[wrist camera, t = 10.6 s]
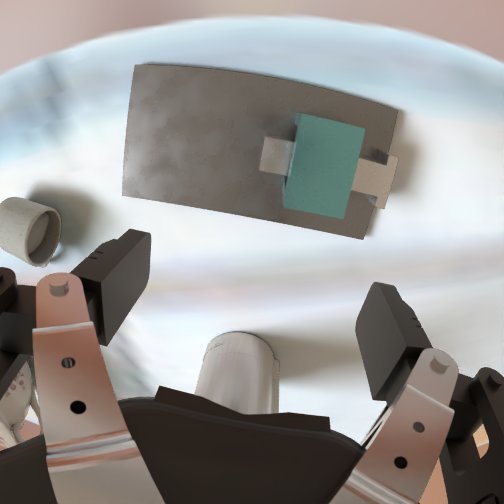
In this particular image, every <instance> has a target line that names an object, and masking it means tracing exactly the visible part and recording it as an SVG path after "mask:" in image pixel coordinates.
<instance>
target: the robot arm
mask: <svg viewBox="0 0 504 504" xmlns="http://www.w3.org/2000/svg"><path fill="white" fill-rule="evenodd" d="M150 252H151V234H150V233H147V232H143V231H138V230H134V229H129V230H128V231H127V232H125V233H124V234H123V235H122V236H121V237H120V238H119V239H118V240H117V239H112V240H110V241H107V242H105V243H103V244H101V245H100V246H99V247H98V248H97V249H96V250H95V251H94V252H92V253H91V254H90V255H89V256H88V257H87V258H85V259H84V260H83V261H82V262H81V263H80V264H79V265H78V266H77V267H76V268H75V269H73V270H72V271H71V272H70V273H54V274H50V275H47V276H45V277H44V278H42V279H41V280H40V281H39V282H38V284H37V286H27V285H17V281H16V276H15V273H14V272H13V271H12V270H11V269H9V268H4V267H0V400H1V399H2V397H3V396H4V394H5V393H6V391H7V389H8V388H9V386H10V385H11V383H12V382H13V380H14V379H15V377H16V376H17V374H18V373H19V371H20V370H21V368H22V367H23V365H24V364H25V362H26V361H27V360H28V358H29V357H30V355H33V356H34V366H35V377H36V386H37V394H38V402H39V409H40V415H41V421H42V426H43V432H44V434H41V435H39V436H37V437H34V438H32V439H30V440H27V441H24V442H22V443H20V444H17V445H15V446H12V447H10V448H7V449H4V450H2V451H0V504H420V503H419V500H420V499H421V496H422V495H423V492H424V490H425V488H426V486H427V484H428V482H429V479H430V477H431V475H432V472H433V470H434V468H435V465H436V463H437V460H438V458H439V459H440V464H441V468H442V473H443V478H444V483H445V487H446V493H447V498H448V504H504V377H503V376H502V375H501V374H500V373H499V372H497V371H496V370H494V369H491V368H488V367H484V368H481V369H480V370H479V371H478V373H477V374H476V376H475V377H474V378H471V377H468V376H465V375H462V374H460V373H459V370H458V366H457V364H456V362H455V361H454V360H453V359H452V358H451V357H450V356H449V355H448V354H446V353H445V352H443V351H441V350H438V349H434V348H433V347H432V345H431V343H430V341H429V339H428V337H427V335H426V334H425V332H424V330H423V328H421V327H422V326H421V324H420V322H419V321H418V320H417V319H418V318H417V317H416V315H415V313H414V311H413V309H412V308H411V307H410V306H409V305H407V304H406V303H405V302H404V301H403V300H402V298H401V297H400V295H399V293H398V291H397V289H396V287H395V286H394V285H389V284H384V283H379V282H374V283H373V284H372V286H371V287H370V290H369V292H368V294H367V297H366V299H365V302H364V304H363V306H362V308H361V311H360V313H359V315H358V318H357V321H356V328H355V331H356V336H357V340H358V343H359V347H360V351H361V355H362V359H363V362H364V366H365V370H366V374H367V378H368V382H369V387H370V391H371V395H372V399H373V400H378V401H386V402H387V405H386V406H385V408H384V409H383V410H382V412H381V413H380V415H379V416H378V418H377V419H376V421H375V422H374V424H373V425H372V427H371V428H370V430H369V431H368V433H367V434H366V436H365V437H364V438H363V440H362V441H361V443H360V444H359V443H357V442H356V441H354V440H353V439H351V438H349V437H347V436H345V435H343V434H341V433H339V432H336V431H334V430H331V429H330V419H329V417H325V416H315V415H306V414H298V413H290V412H287V413H279V361H277V360H276V359H275V358H274V356H273V352H272V350H271V348H270V347H269V346H268V344H267V343H266V342H264V341H263V340H262V339H260V338H258V337H256V336H254V335H251V334H247V333H241V332H231V333H226V334H222V335H220V336H217V337H216V338H214V339H213V340H212V341H211V342H210V343H209V344H208V347H207V349H206V352H205V355H204V359H203V364H202V368H201V371H200V375H199V379H198V382H197V386H196V390H195V394H190V393H186V392H182V391H178V390H174V389H170V388H167V387H163V386H159V388H158V391H157V393H156V396H155V397H135V398H128V399H123V400H119V401H117V399H116V396H115V393H114V391H113V388H112V385H111V382H110V379H109V376H108V373H107V369H106V366H105V363H104V360H103V356H102V353H101V350H100V346H99V344H101V345H103V346H106V347H107V346H108V344H109V343H110V341H111V339H112V338H113V336H114V335H115V333H116V332H117V330H118V329H119V327H120V325H121V324H122V322H123V321H124V319H125V318H126V316H127V315H128V313H129V312H130V310H131V309H132V307H133V306H134V304H135V303H136V301H137V300H138V298H139V297H140V295H141V294H142V292H143V291H144V289H145V288H146V285H147V283H148V279H149V272H150ZM482 424H484V427H485V430H486V432H487V435H488V438H489V448H488V450H487V452H486V454H485V455H484V456H483V457H482V458H481V459H480V456H479V453H478V450H477V447H476V443H475V440H474V437H473V434H474V433H475V431H476V430H477V429H478V428H479V427H480V426H481V425H482Z"/></svg>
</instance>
